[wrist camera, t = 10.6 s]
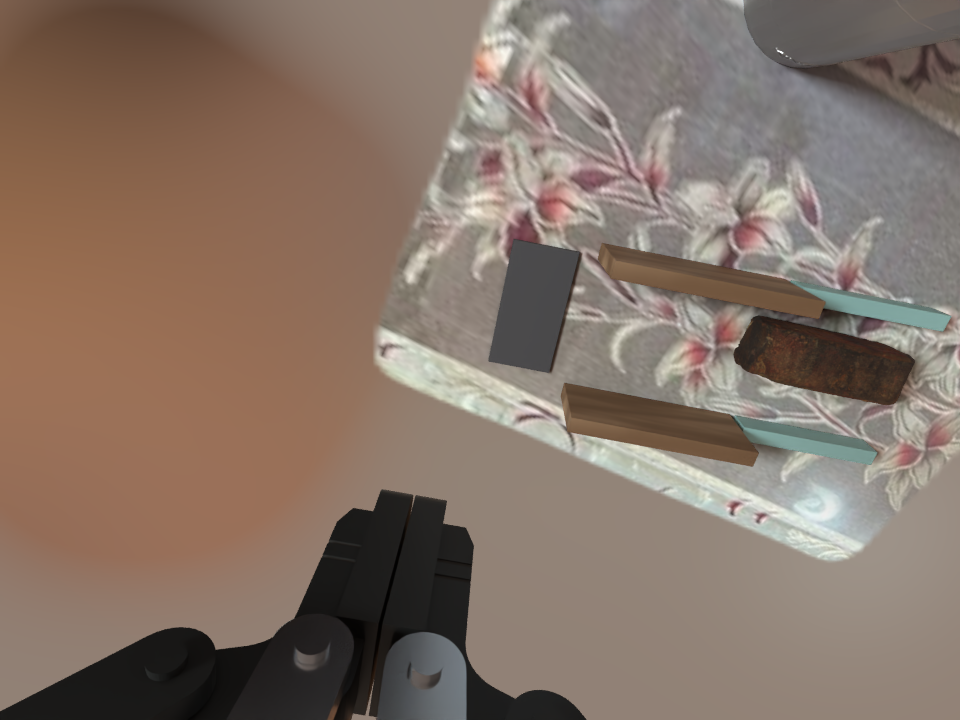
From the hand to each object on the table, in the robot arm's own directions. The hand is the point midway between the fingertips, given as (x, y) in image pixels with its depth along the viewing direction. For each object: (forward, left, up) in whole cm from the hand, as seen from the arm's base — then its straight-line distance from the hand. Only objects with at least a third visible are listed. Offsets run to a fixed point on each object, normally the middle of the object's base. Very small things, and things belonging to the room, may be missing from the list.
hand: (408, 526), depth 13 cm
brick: (+5, +24, -33) cm, 41 cm away
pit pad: (+4, +5, -32) cm, 33 cm away
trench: (+4, +16, -32) cm, 36 cm away
